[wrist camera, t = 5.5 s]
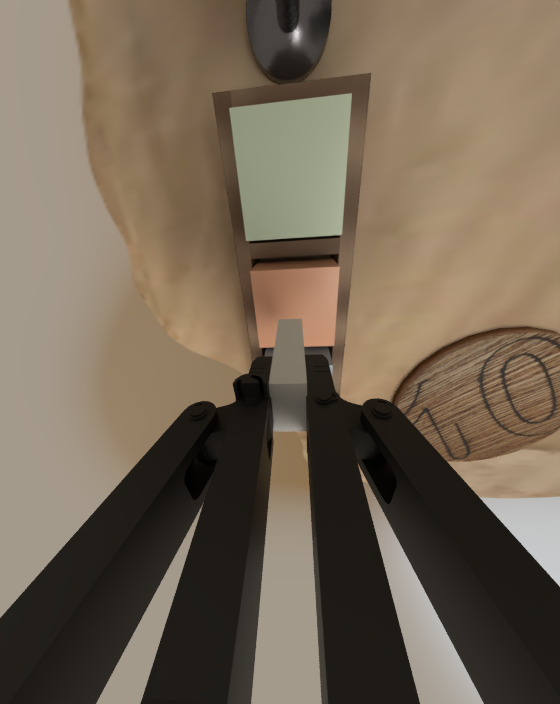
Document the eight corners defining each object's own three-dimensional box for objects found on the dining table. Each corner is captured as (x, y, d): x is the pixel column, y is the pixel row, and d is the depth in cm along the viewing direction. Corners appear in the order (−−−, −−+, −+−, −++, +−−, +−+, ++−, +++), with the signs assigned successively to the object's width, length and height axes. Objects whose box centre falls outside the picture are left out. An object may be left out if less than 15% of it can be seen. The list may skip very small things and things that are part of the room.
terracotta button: (257, 262, 21) (249, 271, 17) (332, 258, 20) (339, 266, 17) (264, 329, 24) (259, 347, 21) (328, 327, 24) (334, 345, 20)
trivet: (432, 468, 43) (437, 478, 42) (359, 392, 35) (362, 401, 33) (598, 408, 33) (613, 418, 32) (553, 283, 25) (571, 287, 23)
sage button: (243, 131, 16) (229, 107, 13) (339, 120, 15) (351, 93, 12) (254, 237, 20) (246, 241, 16) (333, 231, 19) (341, 234, 16)
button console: (234, 125, 20) (212, 93, 14) (350, 112, 19) (371, 73, 14) (265, 378, 34) (259, 407, 29) (332, 377, 33) (338, 407, 28)
